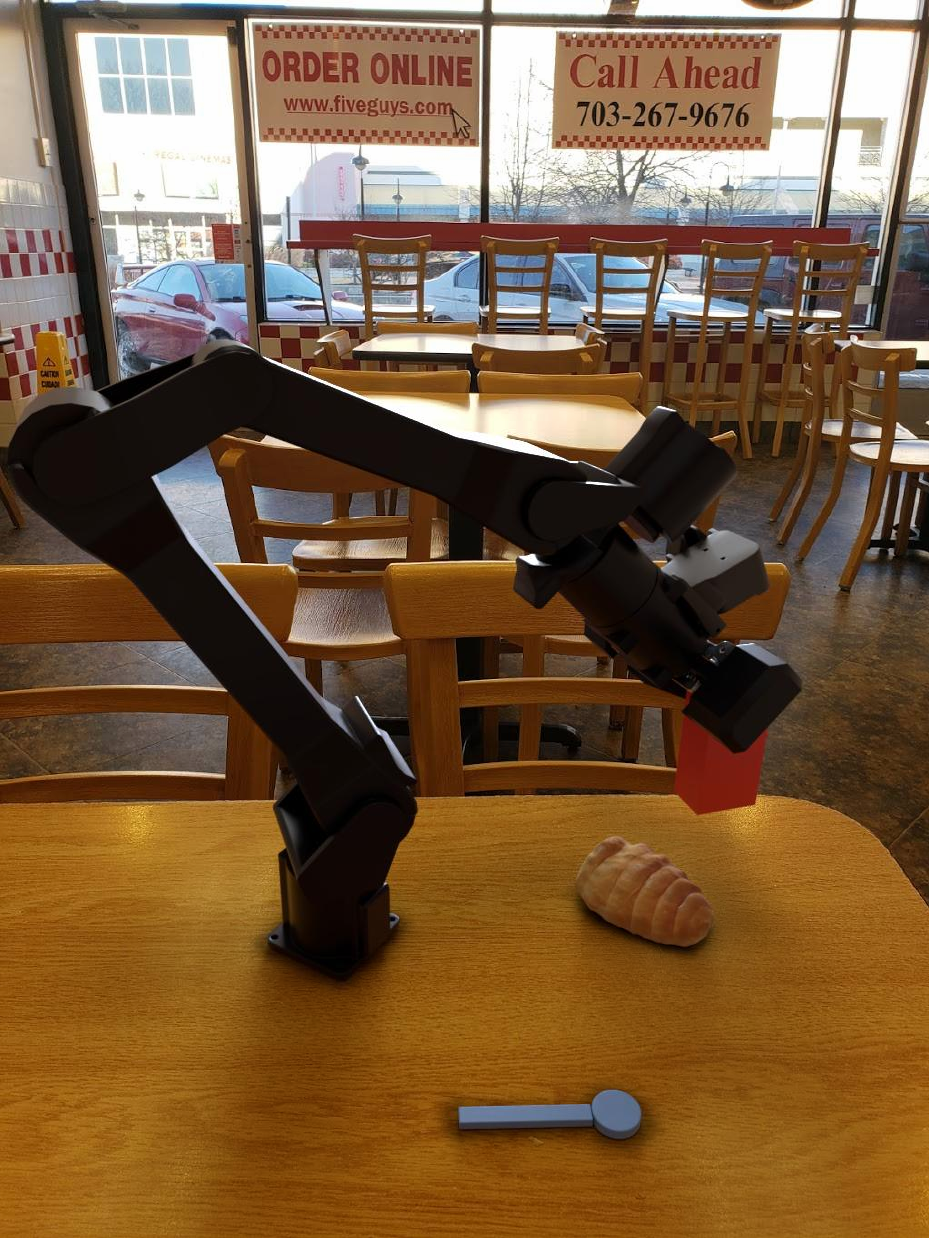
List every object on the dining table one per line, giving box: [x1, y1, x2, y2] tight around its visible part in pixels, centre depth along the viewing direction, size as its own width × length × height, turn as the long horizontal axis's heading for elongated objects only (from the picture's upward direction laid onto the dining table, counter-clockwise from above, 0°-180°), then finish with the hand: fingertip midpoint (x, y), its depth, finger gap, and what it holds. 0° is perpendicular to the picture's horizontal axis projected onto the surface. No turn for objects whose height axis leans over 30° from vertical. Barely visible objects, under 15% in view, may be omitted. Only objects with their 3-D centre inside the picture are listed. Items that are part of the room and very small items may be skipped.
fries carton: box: [673, 690, 769, 816], centre depth 69 cm, size 5×3×12 cm
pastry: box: [574, 835, 715, 948], centre depth 65 cm, size 9×7×4 cm
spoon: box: [457, 1089, 642, 1140], centre depth 49 cm, size 10×3×1 cm, turn 92°
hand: (741, 717), depth 69 cm, fingers closed on fries carton, 3 cm apart
